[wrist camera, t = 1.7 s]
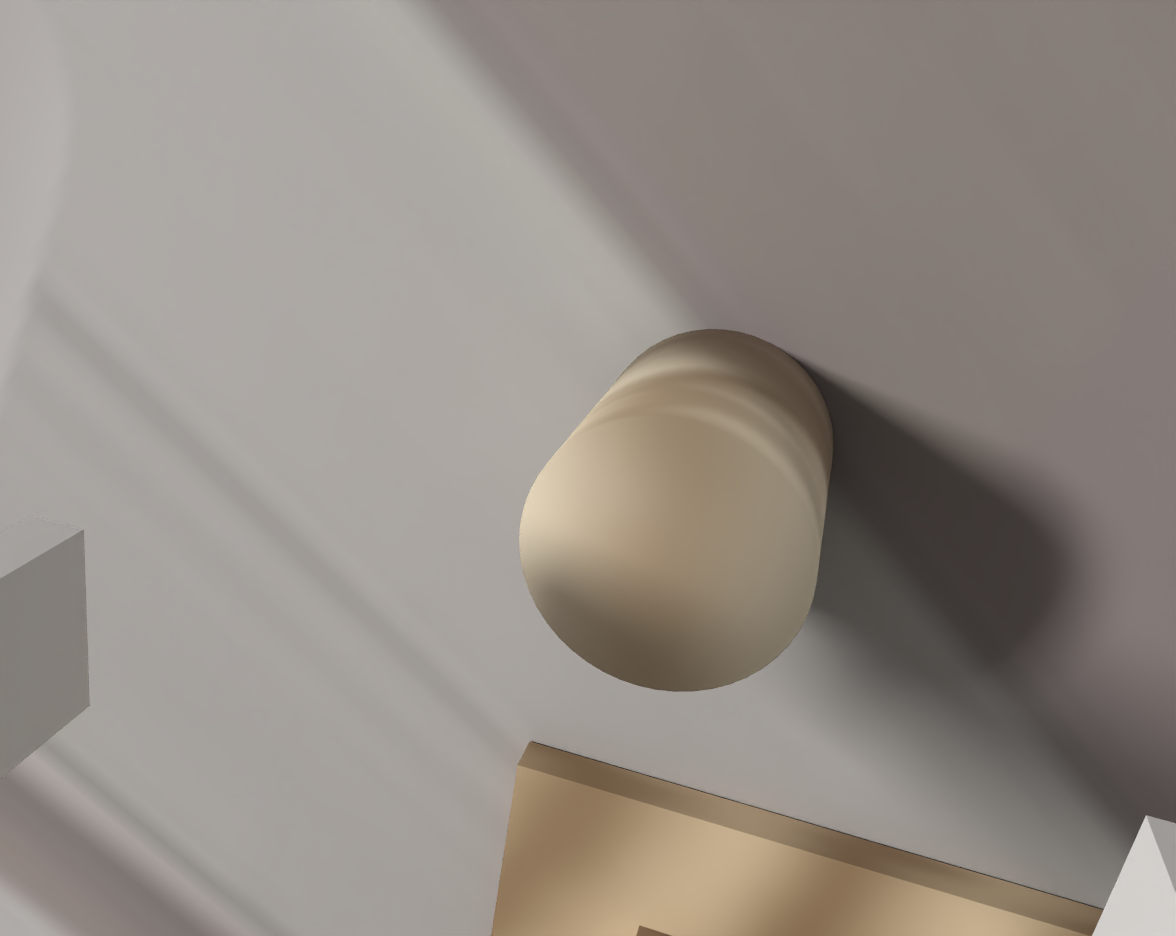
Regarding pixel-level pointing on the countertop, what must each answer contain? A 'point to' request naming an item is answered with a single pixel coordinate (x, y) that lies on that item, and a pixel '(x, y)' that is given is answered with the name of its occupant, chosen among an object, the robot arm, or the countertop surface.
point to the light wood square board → (727, 869)
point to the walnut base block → (649, 932)
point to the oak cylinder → (685, 515)
